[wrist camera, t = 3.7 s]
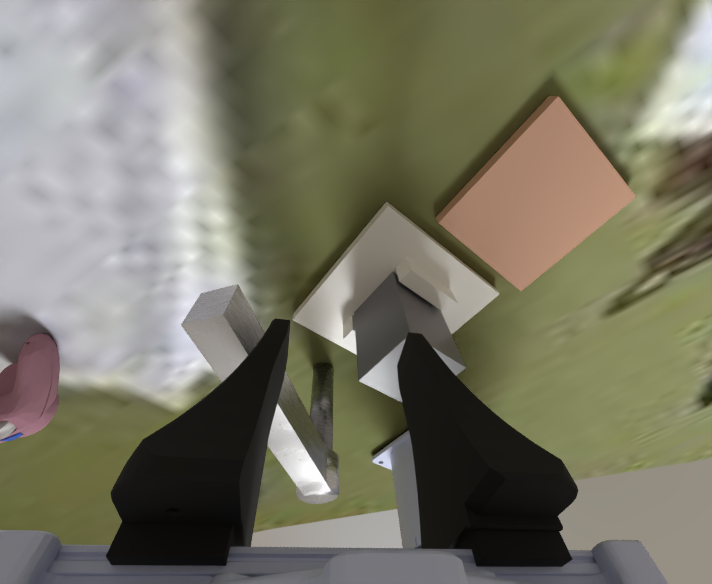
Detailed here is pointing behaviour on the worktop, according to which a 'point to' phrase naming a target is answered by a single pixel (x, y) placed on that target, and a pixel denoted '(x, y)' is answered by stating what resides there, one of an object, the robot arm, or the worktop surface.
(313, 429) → the white square rod
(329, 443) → the socket
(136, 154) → the worktop surface
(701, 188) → the worktop surface
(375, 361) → the plug
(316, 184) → the worktop surface
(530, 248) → the tile
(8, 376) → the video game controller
